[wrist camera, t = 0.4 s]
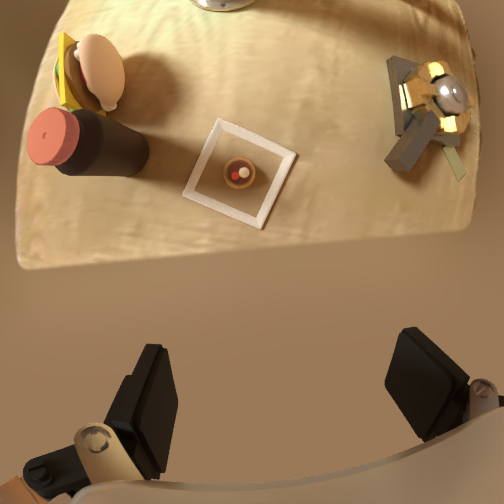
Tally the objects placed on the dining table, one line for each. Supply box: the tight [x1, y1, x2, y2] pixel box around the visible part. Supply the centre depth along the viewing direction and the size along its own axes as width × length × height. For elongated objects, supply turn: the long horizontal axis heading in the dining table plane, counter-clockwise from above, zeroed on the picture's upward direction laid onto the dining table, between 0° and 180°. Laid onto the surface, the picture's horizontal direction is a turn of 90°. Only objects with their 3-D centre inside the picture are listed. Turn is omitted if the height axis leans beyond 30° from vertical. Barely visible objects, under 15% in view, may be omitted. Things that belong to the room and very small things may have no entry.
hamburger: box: [53, 32, 125, 117], centre depth 26 cm, size 12×8×12 cm
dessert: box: [182, 118, 296, 230], centre depth 35 cm, size 12×12×5 cm
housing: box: [386, 56, 469, 181], centre depth 31 cm, size 20×18×10 cm
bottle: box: [27, 107, 149, 176], centre depth 25 cm, size 7×7×20 cm
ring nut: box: [384, 60, 476, 172], centre depth 30 cm, size 22×12×6 cm, turn 141°
